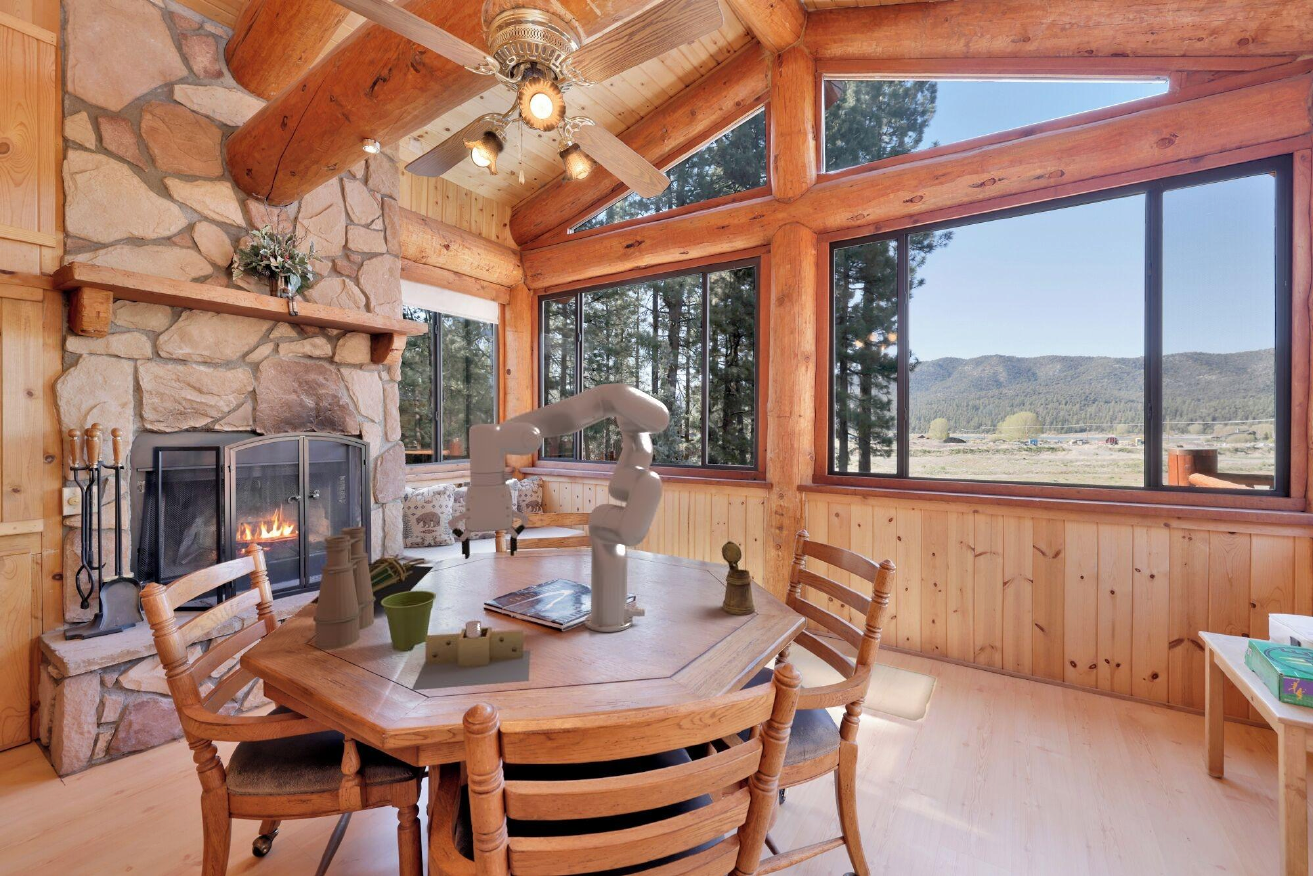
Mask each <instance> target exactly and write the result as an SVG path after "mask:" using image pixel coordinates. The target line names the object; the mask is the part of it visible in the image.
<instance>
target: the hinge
mask: <svg viewBox="0 0 1313 876" xmlns="http://www.w3.org/2000/svg"><path fill="white" fill-rule="evenodd" d="M492 627H493V626H487V627H486V626H485V627H481V637H473V638H466V628H462V629H461V631H460V633H446V634H444V633H443V634H427V635H426V642H425V661H426V665H430V664H444V663H458V668H463V667H477V666H489V663H490V660H500V659H514V658H523V651H524V629H511V630H495V631H493V630H492Z"/></svg>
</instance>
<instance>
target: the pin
mask: <svg viewBox="0 0 1313 876" xmlns="http://www.w3.org/2000/svg"><path fill="white" fill-rule="evenodd" d="M481 628H482V621H481V620H470V621H468V622H465V629H466V638H473V637H481Z"/></svg>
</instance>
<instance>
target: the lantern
mask: <svg viewBox="0 0 1313 876" xmlns="http://www.w3.org/2000/svg"><path fill="white" fill-rule="evenodd" d="M399 556H400V553H397V554H396V555H395V556H394V557H383V555H380V557H379V558H378V559H375V561H374V562H372V563H369V562H368V566H369V572H370V579H371V585H372V591H373V596H374V597H375V598H376V599H375V601H374V607H375V608H376V607H377V608H378V607H379V608H380V607H381V608H384V606H382V605H381V601H382V600H383V599H384V598H386V597H388V596H391V595H394V594H398V593H402V592H408V591H413V589H414V588H415V587H416V586H417V585H418V584H419V583H420V582H421V581H422V580H423V579H424V577H426V576H427V575H428V574H429V573H430V571H432V569H434V566H426V565H422V564H425V562H426V559H425V558H424V557H420V558H414V559H411V560H409V561H406V562H400V561H399V559H398V557H399ZM318 598H319V595H318V596H316V598H315V599H313V600H312V601H310V604H318Z"/></svg>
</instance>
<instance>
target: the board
mask: <svg viewBox="0 0 1313 876" xmlns="http://www.w3.org/2000/svg"><path fill="white" fill-rule="evenodd" d="M530 653H531V649H527V650H525V649H524V650H523V658H514V659H500V660H490V663H489V666H477V667H463V668H458V663H444V664H430V665H426V660H425V661H424V663H423V665H422V667H421V669H420V672H419V674H418V676H417V678H416V680H415V682H414V684H413V687H412V688H411V691H420V690H430V689H431V690H432V689H442V688H444V689H445V688H455V687H468V686H469V687H470V686H480V685H481V686H482V685H493V684H505V683H506V684H507V683H518V682H519V683H520V682H529V680H530V660H531V659H530V658H531V654H530Z"/></svg>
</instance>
